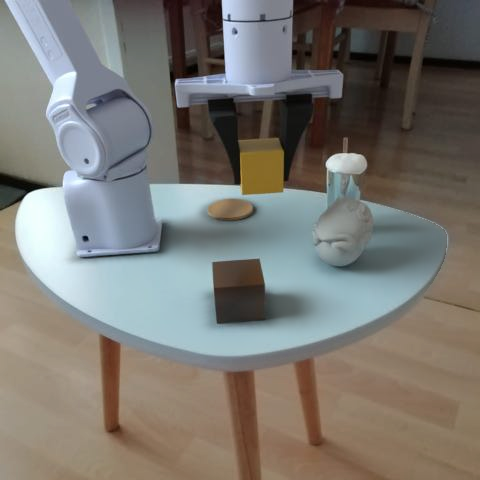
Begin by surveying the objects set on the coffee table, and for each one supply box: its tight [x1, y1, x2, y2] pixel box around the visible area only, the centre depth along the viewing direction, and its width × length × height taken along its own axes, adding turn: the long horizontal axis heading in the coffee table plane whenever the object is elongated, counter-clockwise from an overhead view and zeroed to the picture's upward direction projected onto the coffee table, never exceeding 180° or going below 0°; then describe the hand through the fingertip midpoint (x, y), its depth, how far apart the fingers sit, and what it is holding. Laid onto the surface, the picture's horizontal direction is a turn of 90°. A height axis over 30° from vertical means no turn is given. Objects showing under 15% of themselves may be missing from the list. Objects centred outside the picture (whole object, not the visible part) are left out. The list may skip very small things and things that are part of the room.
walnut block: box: [211, 257, 266, 324], centre depth 47 cm, size 5×5×4 cm
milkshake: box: [325, 137, 368, 210], centre depth 57 cm, size 4×5×10 cm
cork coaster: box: [207, 198, 254, 222], centre depth 65 cm, size 6×6×1 cm
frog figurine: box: [311, 197, 375, 267], centre depth 52 cm, size 6×7×7 cm
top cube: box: [238, 137, 284, 196], centre depth 47 cm, size 4×4×4 cm
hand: (260, 179), depth 48 cm, fingers closed on top cube, 4 cm apart
